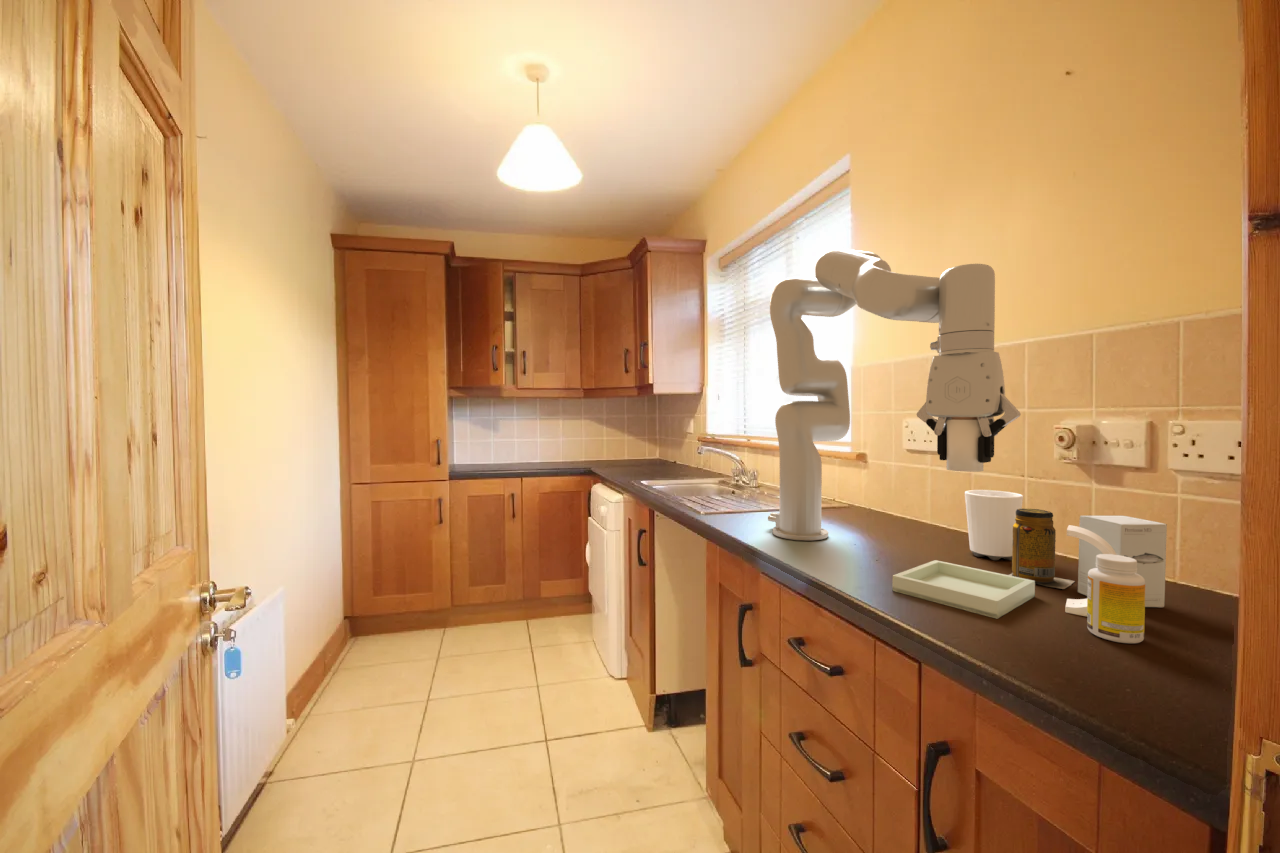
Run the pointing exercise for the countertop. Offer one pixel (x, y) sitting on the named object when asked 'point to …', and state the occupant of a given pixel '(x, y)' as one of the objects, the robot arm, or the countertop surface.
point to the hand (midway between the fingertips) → (964, 459)
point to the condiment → (1035, 548)
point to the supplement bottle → (1116, 599)
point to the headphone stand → (1081, 604)
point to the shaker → (963, 444)
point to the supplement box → (1128, 551)
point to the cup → (991, 522)
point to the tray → (965, 587)
